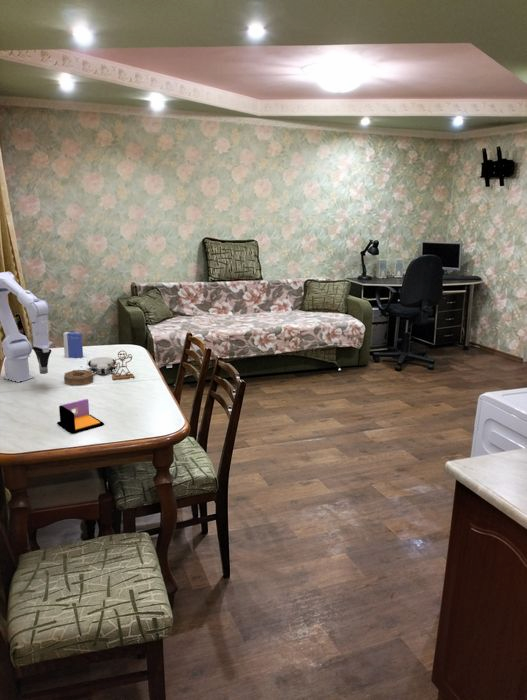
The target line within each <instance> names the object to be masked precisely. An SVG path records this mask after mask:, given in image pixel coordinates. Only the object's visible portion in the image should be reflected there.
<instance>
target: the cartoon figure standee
mask: <svg viewBox="0 0 527 700" xmlns="http://www.w3.org/2000/svg"><path fill="white" fill-rule="evenodd" d="M121 352H123V353H121ZM122 355H123V356H122ZM117 357H118V358H116V360H115V359H114V360H115V361H116V363H114V362H115V361H114V362H113V367H114V368H117V367H118V369H116V370H117V371H116V372H115V374H113V375H111V379H112V381H121V380H122V379H123V380H131V379H130V378H133V379H135V375H134V373H131V371H130V370H129V369H128V367H127V363H128V364H129V363H130V362H131V361H132V359H133V355H132V354H131V353H130V354H127V352H126V351H125V350H123V349H122V350H120V351H118V353H117ZM127 359H129V360H128V361H125V360H127ZM119 360H120V362H121V363H122V364H121V363H120V362H117V361H119ZM124 362H125V365H124ZM114 365H115V366H114ZM120 368H121V371H120V373H119V370H120ZM123 368H126V370H127V372H126V371H125V370H124V369H123ZM122 373H123V374H122Z"/></svg>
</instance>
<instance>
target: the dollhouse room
mask: <svg viewBox="0 0 527 700" xmlns="http://www.w3.org/2000/svg"><path fill="white" fill-rule="evenodd" d="M89 406H90V405H89V399H88V398H84V399H80V400H76V401H72V402H67V403H63V404H60V405H59V406H58V410H59V421H57V423H56V424H57V426H59V427H61V428H62V429H63V430H64V431H66V432H67V433H69V434H71V435H75V434H79V433H83V432H86V431H90V430H93V429H97V428H100V427H103V426H105V422H103V421H101V420H100V419H98V418H96V417H95V416H93V415H92V414H90V407H89ZM73 410H75V412H73Z"/></svg>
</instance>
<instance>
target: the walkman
mask: <svg viewBox="0 0 527 700" xmlns="http://www.w3.org/2000/svg"><path fill="white" fill-rule="evenodd" d="M62 337H63V350H64V358H68V359H82V358H83V357H84V350H83V349H84V348H83V334H82V332H79V331H76V332H73V331H72V332H71V331H68V332H67V331H66V332H64V333H62Z"/></svg>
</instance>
